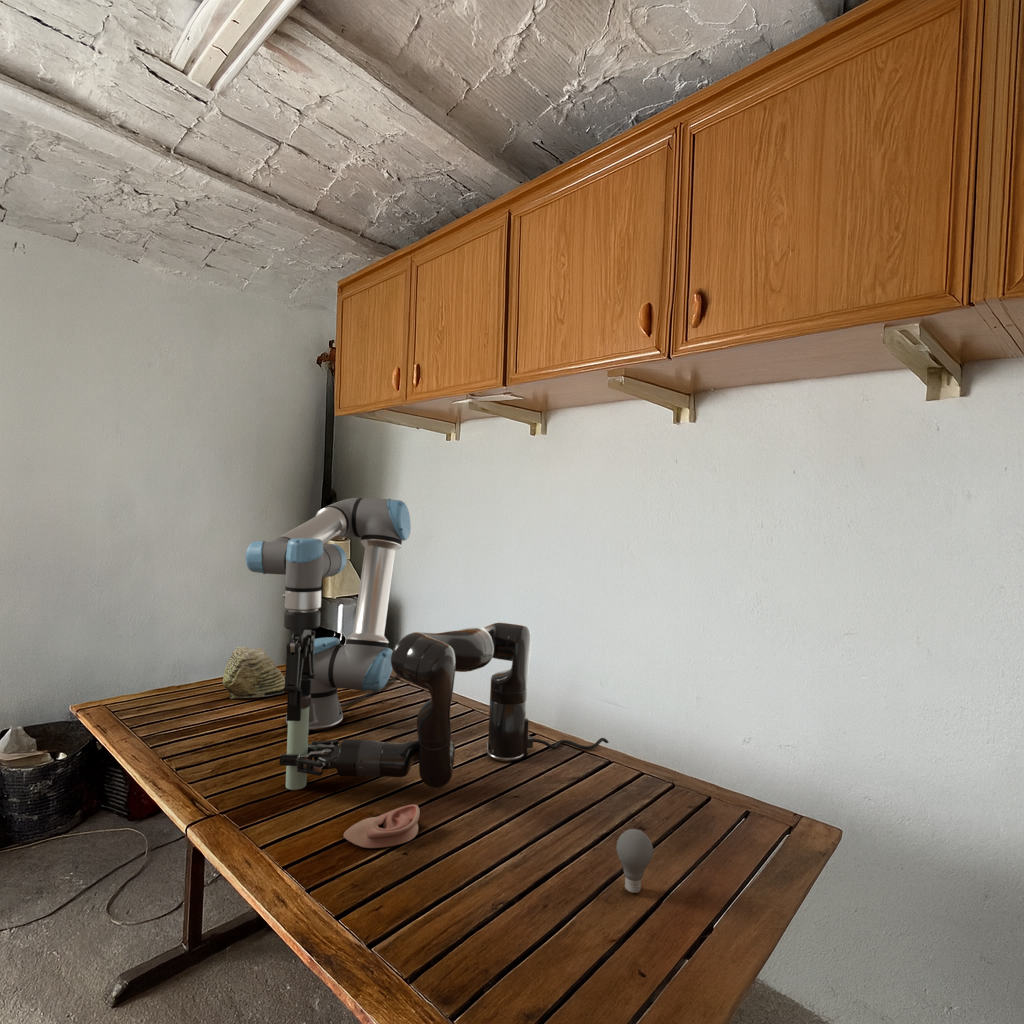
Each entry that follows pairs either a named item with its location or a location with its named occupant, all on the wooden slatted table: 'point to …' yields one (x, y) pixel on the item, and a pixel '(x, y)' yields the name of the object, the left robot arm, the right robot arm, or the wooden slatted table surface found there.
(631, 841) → the light bulb
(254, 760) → the wooden slatted table surface
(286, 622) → the left robot arm
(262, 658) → the fossil
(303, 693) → the lid
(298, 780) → the pale green tube
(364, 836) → the anatomical model
